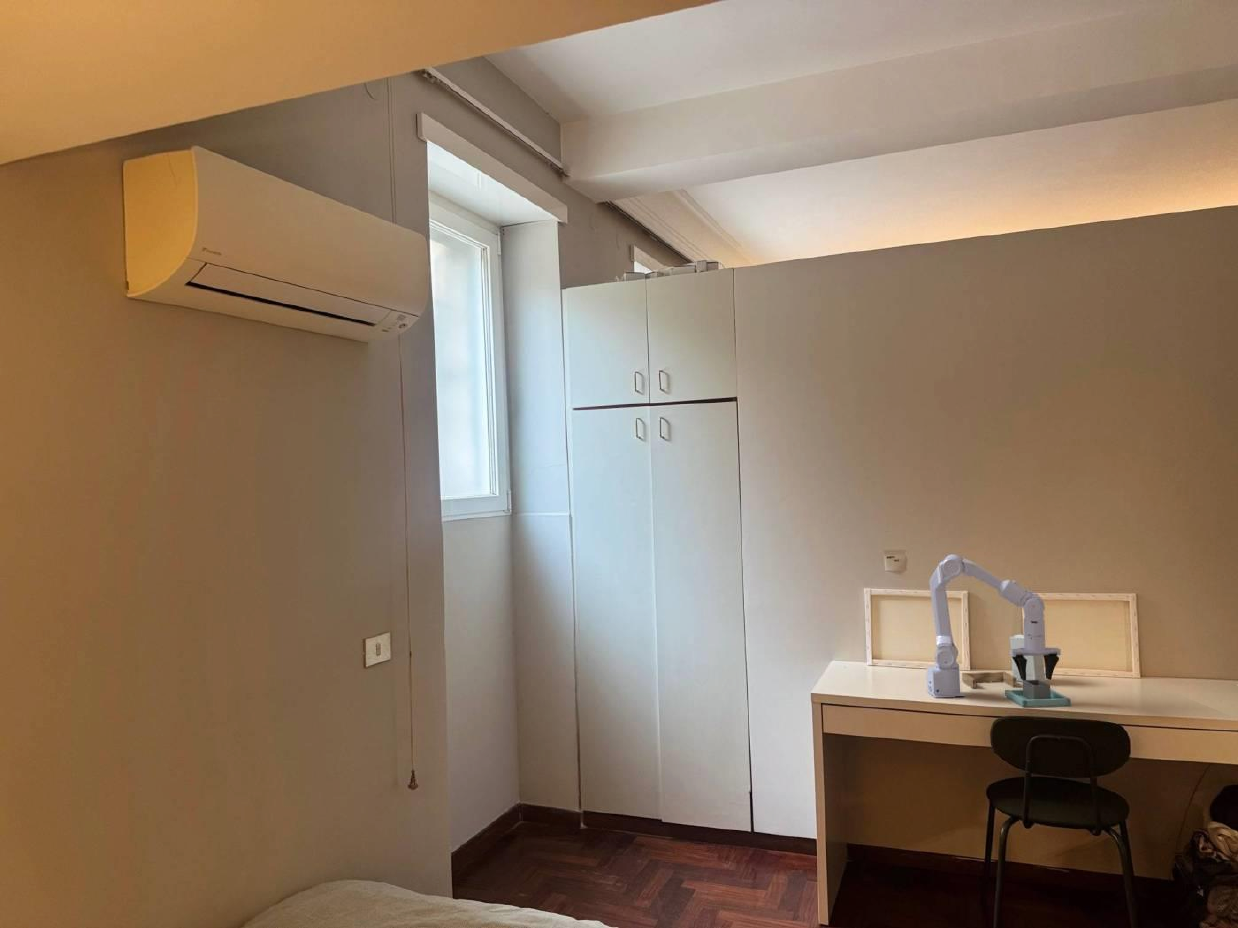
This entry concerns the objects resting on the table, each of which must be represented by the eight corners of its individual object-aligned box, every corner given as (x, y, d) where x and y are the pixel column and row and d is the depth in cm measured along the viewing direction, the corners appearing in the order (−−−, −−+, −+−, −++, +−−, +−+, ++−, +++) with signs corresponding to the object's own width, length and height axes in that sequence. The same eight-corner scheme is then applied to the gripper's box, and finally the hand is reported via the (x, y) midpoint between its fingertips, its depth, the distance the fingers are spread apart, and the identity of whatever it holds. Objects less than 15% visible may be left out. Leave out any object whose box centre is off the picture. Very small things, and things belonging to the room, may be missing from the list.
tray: (1023, 707, 247) (1023, 700, 247) (1005, 696, 259) (1004, 689, 259) (1070, 705, 247) (1070, 699, 247) (1050, 694, 259) (1050, 688, 259)
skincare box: (1045, 681, 273) (1043, 636, 273) (1035, 685, 270) (1033, 639, 270) (1021, 677, 280) (1019, 633, 280) (1011, 680, 277) (1009, 635, 277)
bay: (972, 688, 269) (972, 679, 269) (962, 681, 277) (962, 672, 277) (1016, 687, 268) (1016, 677, 268) (1004, 680, 277) (1004, 671, 277)
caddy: (1034, 702, 249) (1033, 685, 249) (1023, 696, 256) (1022, 680, 256) (1050, 702, 249) (1050, 685, 249) (1039, 695, 256) (1038, 679, 256)
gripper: (1051, 631, 257) (1053, 675, 257) (1004, 632, 257) (1006, 676, 257) (1063, 635, 250) (1065, 681, 250) (1015, 637, 250) (1016, 682, 250)
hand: (1036, 679), depth 253 cm, fingers open, 7 cm apart
